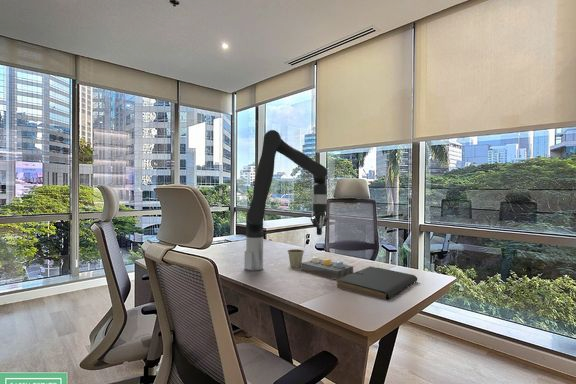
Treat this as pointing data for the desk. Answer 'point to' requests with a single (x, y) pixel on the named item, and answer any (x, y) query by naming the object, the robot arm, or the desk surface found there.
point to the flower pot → (295, 257)
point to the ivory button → (315, 260)
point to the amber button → (327, 262)
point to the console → (326, 269)
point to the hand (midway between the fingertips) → (319, 234)
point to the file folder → (377, 282)
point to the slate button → (339, 264)
